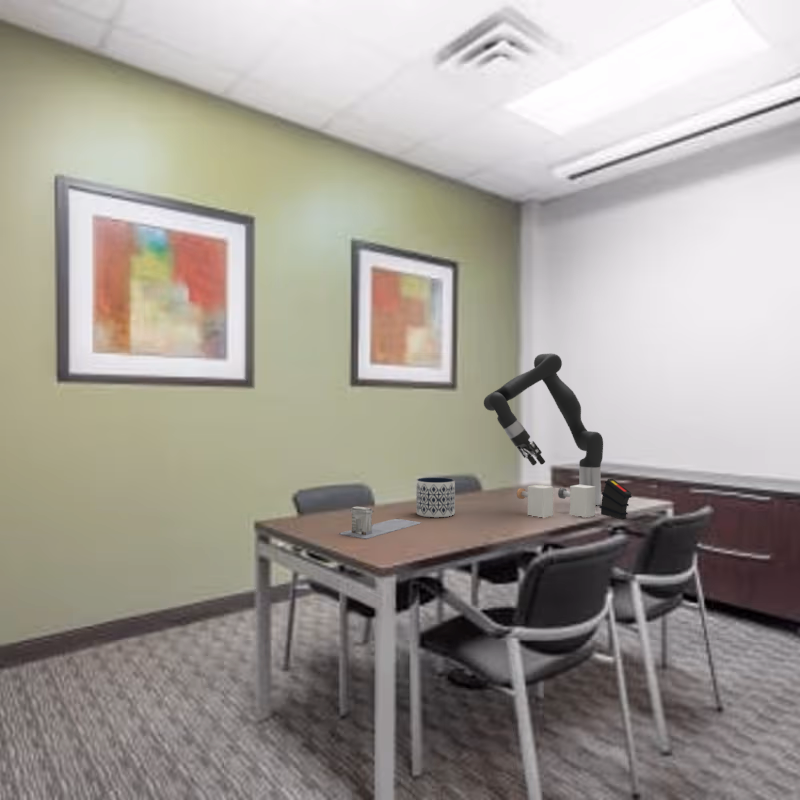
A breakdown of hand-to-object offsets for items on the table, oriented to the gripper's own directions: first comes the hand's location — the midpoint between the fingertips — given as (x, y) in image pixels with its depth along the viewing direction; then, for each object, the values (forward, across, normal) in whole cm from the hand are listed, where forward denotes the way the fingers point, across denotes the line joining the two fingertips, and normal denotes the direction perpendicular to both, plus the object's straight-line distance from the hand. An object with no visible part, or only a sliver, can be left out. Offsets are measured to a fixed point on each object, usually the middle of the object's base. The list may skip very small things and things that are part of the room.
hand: (539, 463), depth 253 cm
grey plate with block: (-21, -17, +72) cm, 77 cm away
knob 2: (+19, -3, -1) cm, 19 cm away
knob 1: (+9, -1, +14) cm, 16 cm away
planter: (-9, +6, +48) cm, 49 cm away
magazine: (+34, -12, -9) cm, 37 cm away
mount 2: (+26, -7, 0) cm, 27 cm away
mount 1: (+16, -5, +15) cm, 22 cm away
